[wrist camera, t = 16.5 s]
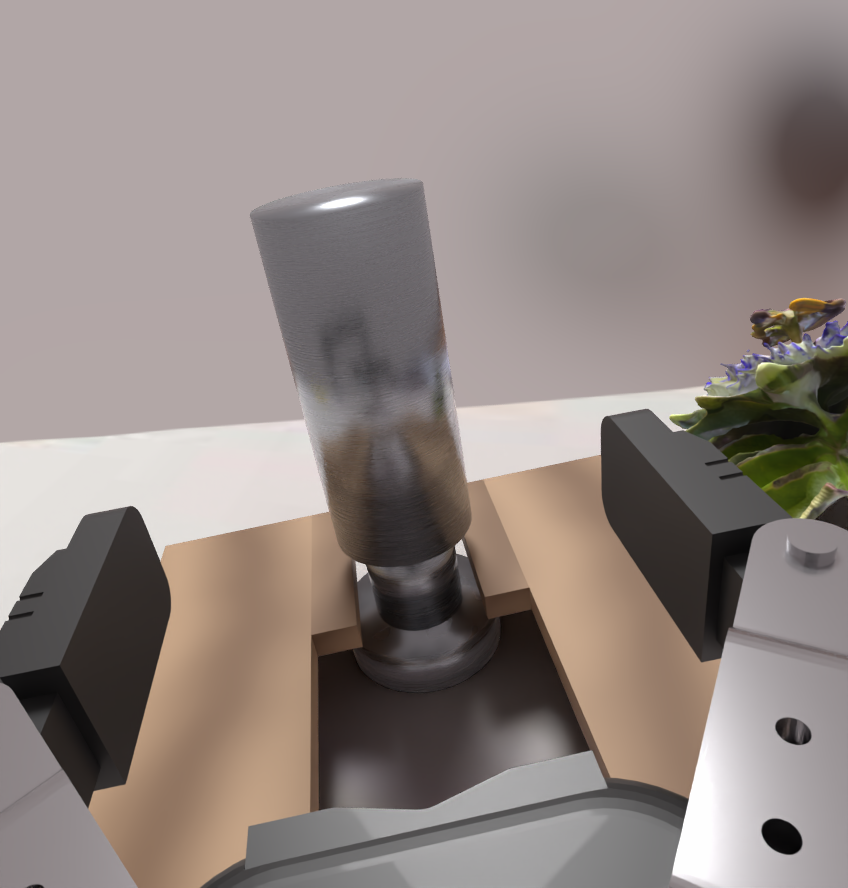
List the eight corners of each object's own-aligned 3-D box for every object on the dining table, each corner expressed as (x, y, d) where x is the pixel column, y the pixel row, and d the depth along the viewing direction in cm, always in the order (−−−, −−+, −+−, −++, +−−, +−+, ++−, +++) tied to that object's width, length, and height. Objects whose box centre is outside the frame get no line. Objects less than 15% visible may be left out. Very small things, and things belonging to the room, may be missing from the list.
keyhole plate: (95, 1060, 17) (25, 979, 15) (195, 616, 31) (165, 546, 29) (867, 870, 18) (894, 772, 16) (623, 524, 32) (622, 450, 30)
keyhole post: (357, 708, 25) (219, 236, 17) (350, 599, 30) (242, 200, 22) (517, 672, 25) (457, 192, 17) (483, 571, 31) (424, 167, 22)
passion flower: (768, 554, 37) (880, 344, 35) (961, 673, 26) (1137, 384, 24) (592, 489, 33) (705, 252, 31) (736, 595, 23) (917, 253, 21)
